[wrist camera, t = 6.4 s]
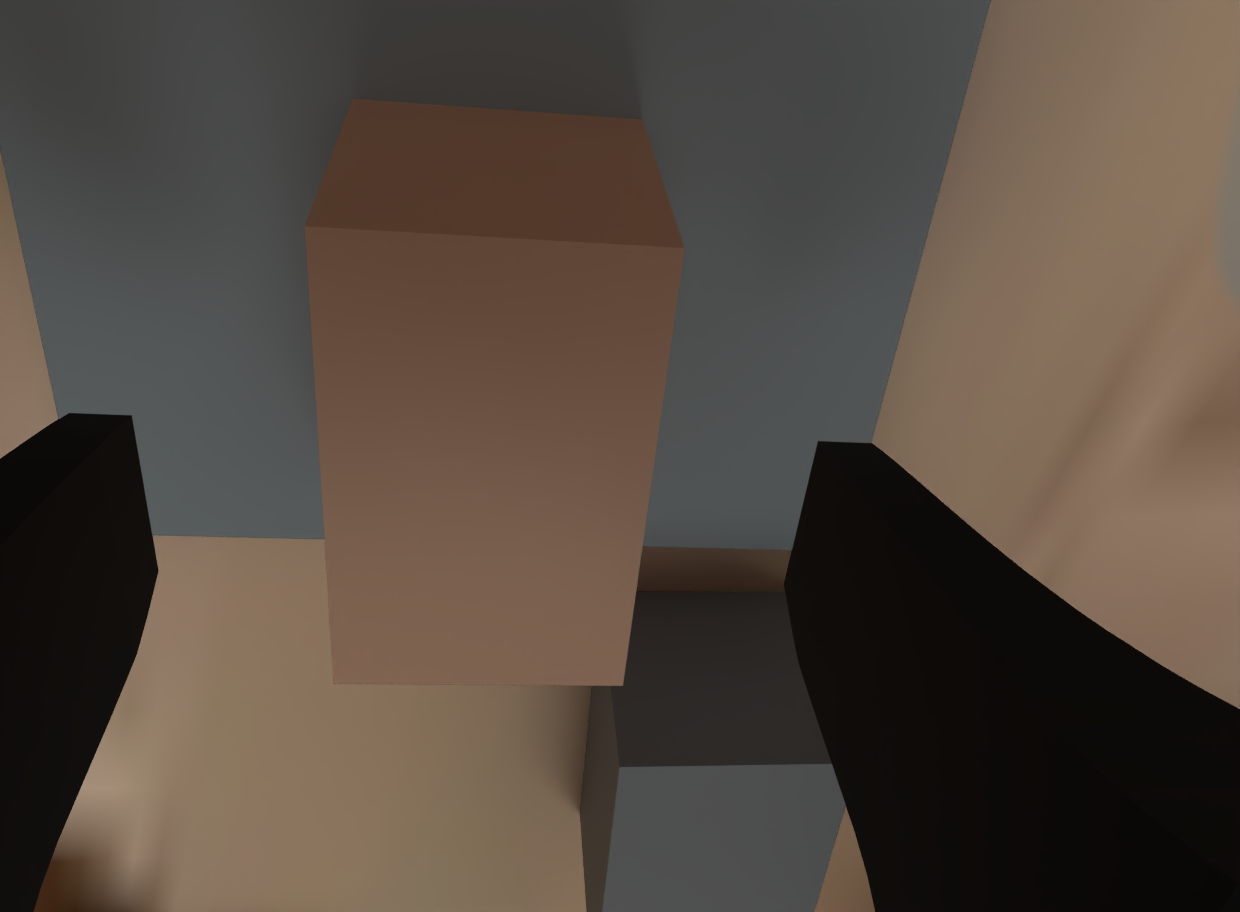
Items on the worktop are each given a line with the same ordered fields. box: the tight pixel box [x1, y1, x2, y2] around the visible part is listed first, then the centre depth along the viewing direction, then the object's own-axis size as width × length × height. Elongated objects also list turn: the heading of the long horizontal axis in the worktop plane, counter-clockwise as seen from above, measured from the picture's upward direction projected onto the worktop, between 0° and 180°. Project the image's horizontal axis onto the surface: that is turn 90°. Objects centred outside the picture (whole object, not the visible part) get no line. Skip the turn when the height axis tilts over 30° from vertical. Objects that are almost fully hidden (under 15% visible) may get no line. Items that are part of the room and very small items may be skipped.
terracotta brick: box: [305, 99, 684, 686], centre depth 14 cm, size 4×6×4 cm, turn 174°
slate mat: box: [0, 0, 991, 550], centre depth 15 cm, size 12×9×1 cm
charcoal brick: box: [580, 591, 846, 912], centre depth 20 cm, size 4×6×4 cm, turn 175°
